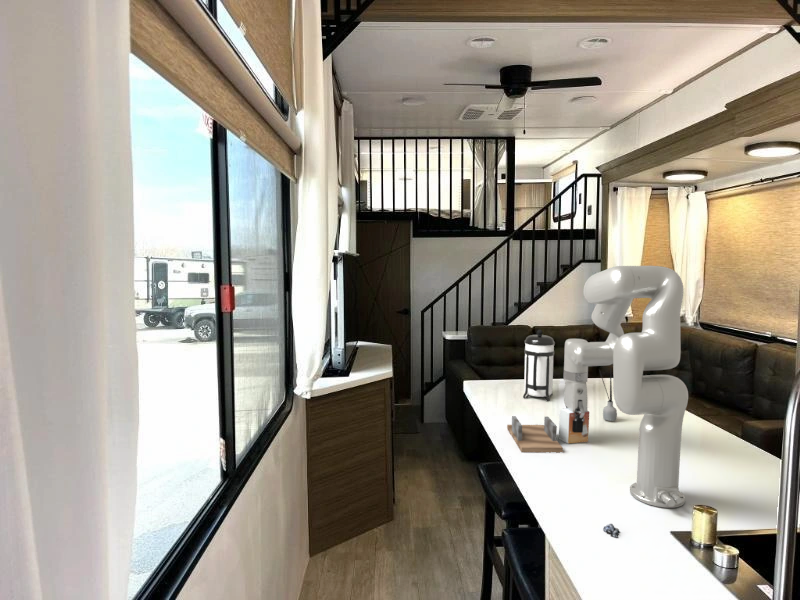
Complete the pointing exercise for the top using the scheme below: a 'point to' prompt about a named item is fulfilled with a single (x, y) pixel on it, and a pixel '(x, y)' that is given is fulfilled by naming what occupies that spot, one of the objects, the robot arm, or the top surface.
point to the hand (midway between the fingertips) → (573, 427)
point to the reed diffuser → (609, 405)
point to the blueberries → (611, 530)
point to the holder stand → (535, 436)
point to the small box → (567, 427)
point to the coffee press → (538, 366)
